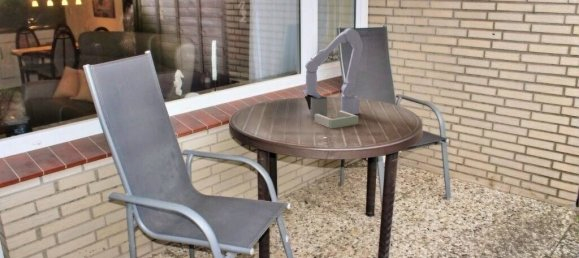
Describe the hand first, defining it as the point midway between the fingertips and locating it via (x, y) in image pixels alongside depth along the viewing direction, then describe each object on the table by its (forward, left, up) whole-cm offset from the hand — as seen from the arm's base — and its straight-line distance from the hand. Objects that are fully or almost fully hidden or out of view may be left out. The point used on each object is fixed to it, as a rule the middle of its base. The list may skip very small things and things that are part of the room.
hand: (311, 109), depth 254 cm
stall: (0, +21, -2) cm, 21 cm away
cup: (0, +7, -3) cm, 8 cm away
